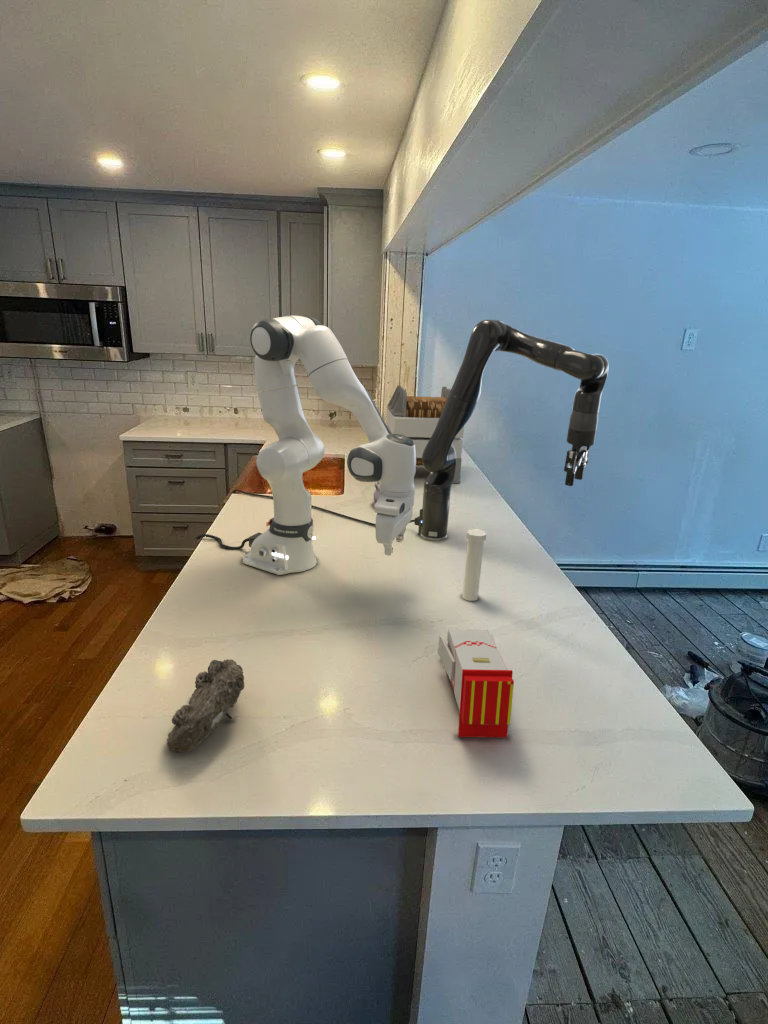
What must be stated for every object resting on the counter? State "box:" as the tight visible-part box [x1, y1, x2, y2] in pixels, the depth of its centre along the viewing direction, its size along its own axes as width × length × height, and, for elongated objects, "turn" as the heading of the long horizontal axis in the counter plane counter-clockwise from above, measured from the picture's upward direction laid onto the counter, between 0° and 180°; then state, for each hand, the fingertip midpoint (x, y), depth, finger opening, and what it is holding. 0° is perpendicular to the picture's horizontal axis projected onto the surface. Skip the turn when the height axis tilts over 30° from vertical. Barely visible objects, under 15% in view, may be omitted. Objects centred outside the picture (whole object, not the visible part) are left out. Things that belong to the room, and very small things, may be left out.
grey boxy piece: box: [385, 384, 465, 484], centre depth 268 cm, size 34×33×41 cm
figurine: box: [372, 481, 380, 507], centre depth 225 cm, size 9×10×15 cm
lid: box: [466, 528, 487, 543], centre depth 152 cm, size 5×5×2 cm
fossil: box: [166, 658, 245, 754], centre depth 106 cm, size 22×10×15 cm
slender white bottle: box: [461, 539, 485, 602], centre depth 155 cm, size 4×4×19 cm
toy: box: [437, 628, 515, 738], centre depth 117 cm, size 12×13×30 cm
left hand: (394, 547), depth 150 cm, fingers open, 8 cm apart
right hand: (573, 482), depth 165 cm, fingers open, 8 cm apart
